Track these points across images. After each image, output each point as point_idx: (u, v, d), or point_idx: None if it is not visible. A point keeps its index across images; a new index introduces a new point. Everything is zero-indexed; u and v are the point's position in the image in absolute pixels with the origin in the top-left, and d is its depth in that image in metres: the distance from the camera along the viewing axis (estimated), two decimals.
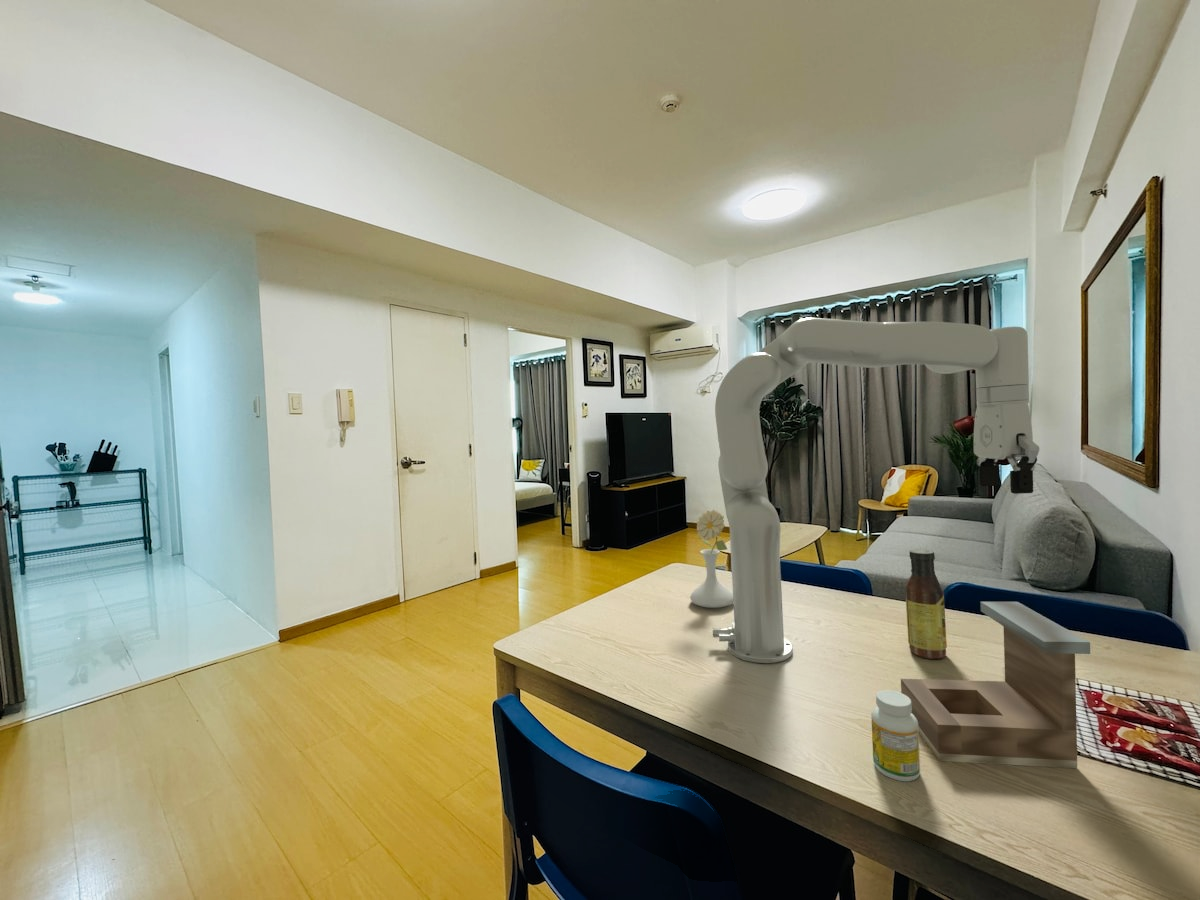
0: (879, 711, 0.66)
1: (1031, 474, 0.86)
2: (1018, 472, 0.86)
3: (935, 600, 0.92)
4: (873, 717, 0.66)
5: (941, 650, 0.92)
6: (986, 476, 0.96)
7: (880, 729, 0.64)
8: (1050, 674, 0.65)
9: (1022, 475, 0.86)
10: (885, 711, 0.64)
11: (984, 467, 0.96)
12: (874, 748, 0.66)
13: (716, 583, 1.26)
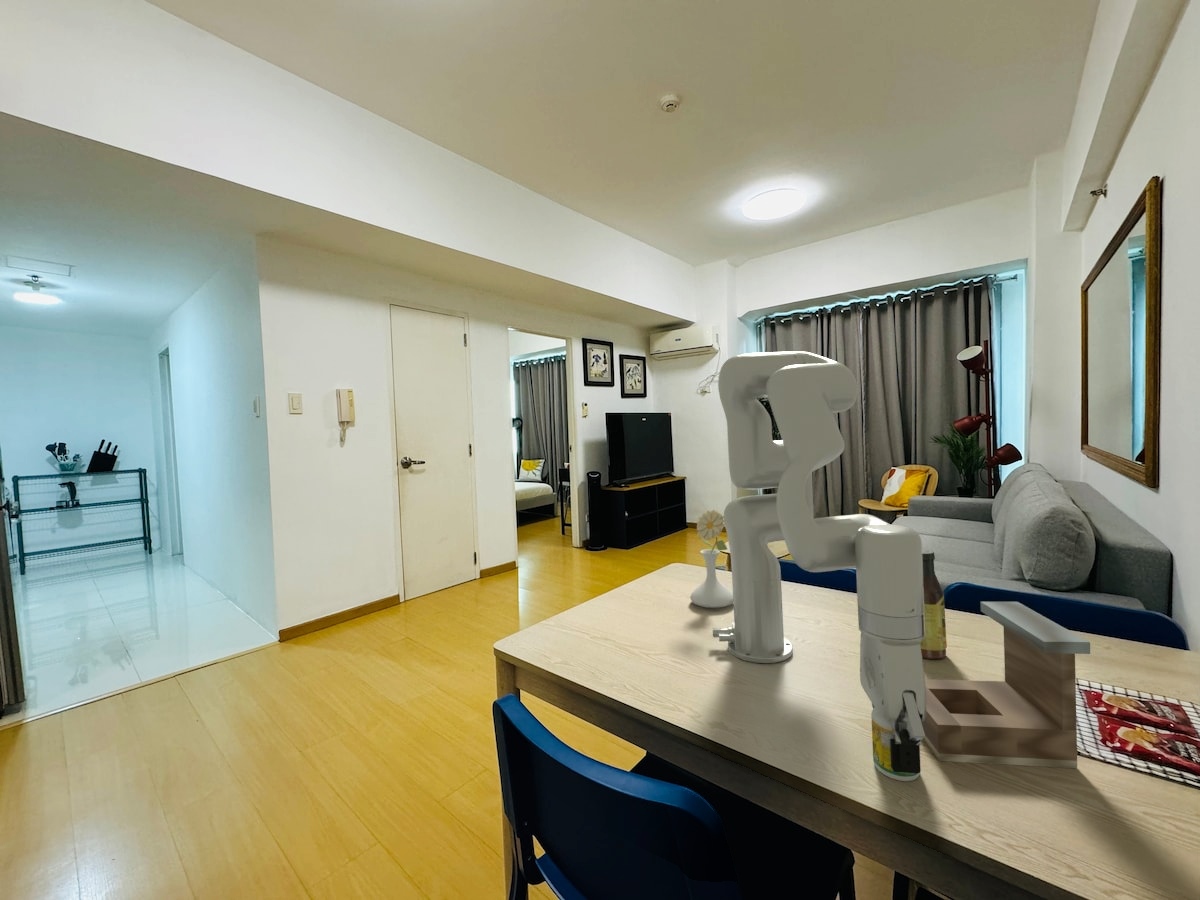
0: None
1: (918, 747, 0.62)
2: (899, 745, 0.62)
3: (935, 600, 0.92)
4: (873, 717, 0.66)
5: (941, 650, 0.92)
6: None
7: (880, 729, 0.64)
8: (1050, 674, 0.65)
9: (904, 751, 0.61)
10: None
11: None
12: (874, 748, 0.66)
13: (716, 583, 1.26)
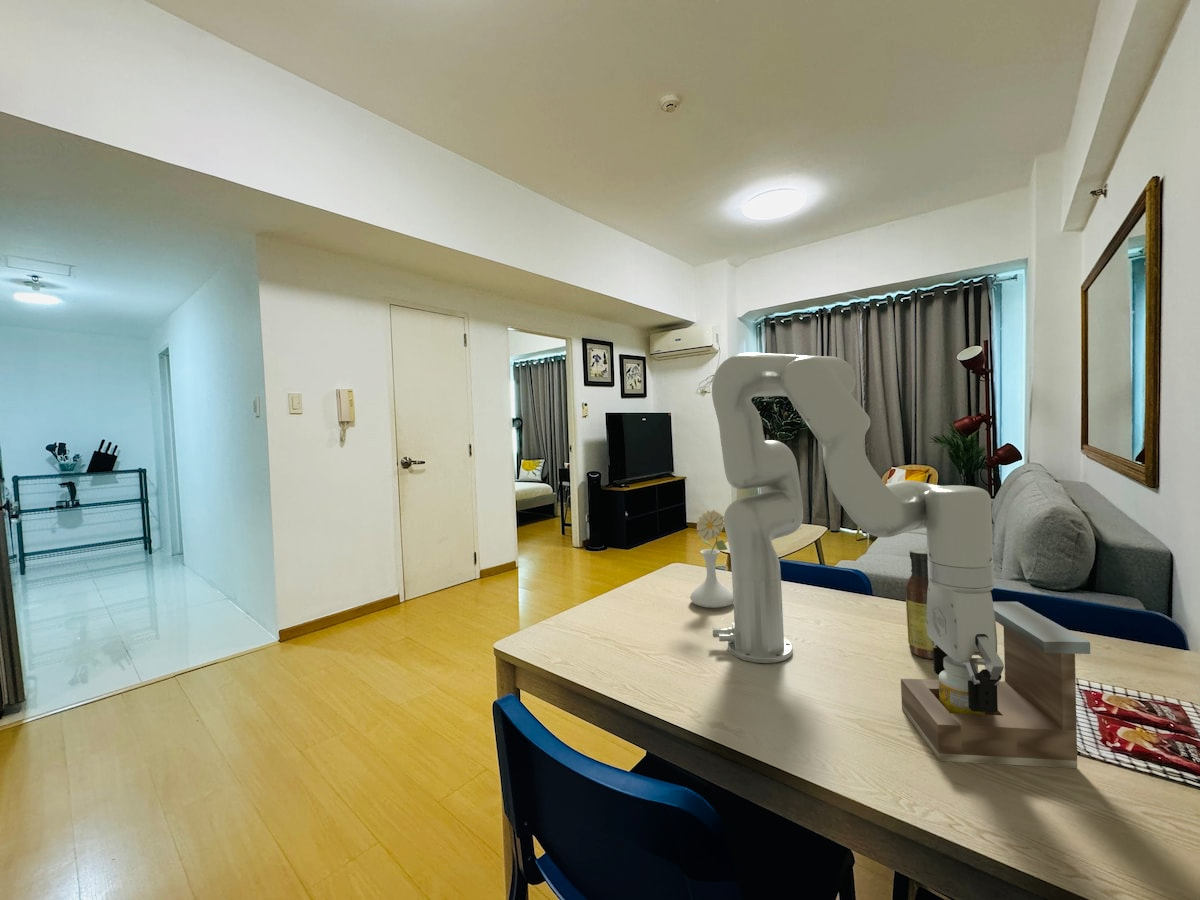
0: (947, 674, 0.72)
1: (995, 688, 0.65)
2: (978, 685, 0.65)
3: None
4: (941, 679, 0.72)
5: None
6: (942, 663, 0.75)
7: (949, 690, 0.70)
8: (1050, 674, 0.65)
9: (983, 690, 0.65)
10: (953, 673, 0.70)
11: (940, 651, 0.75)
12: None
13: (716, 583, 1.26)
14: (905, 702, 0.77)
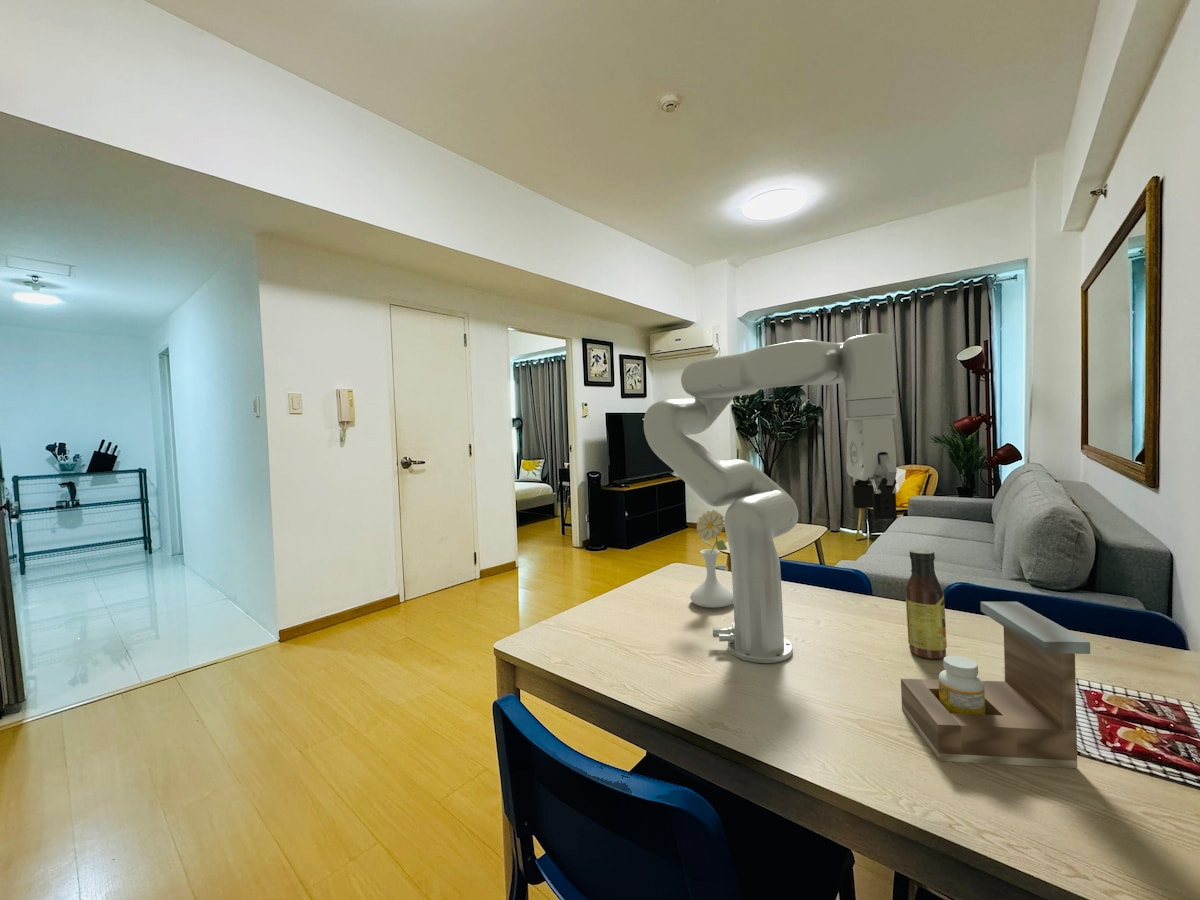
0: (947, 674, 0.72)
1: (894, 497, 0.77)
2: (879, 495, 0.77)
3: (935, 600, 0.92)
4: (941, 679, 0.72)
5: (941, 650, 0.92)
6: (860, 497, 0.87)
7: (949, 690, 0.70)
8: (1050, 674, 0.65)
9: (883, 499, 0.77)
10: (953, 674, 0.70)
11: (858, 487, 0.87)
12: None
13: (716, 583, 1.26)
14: (905, 702, 0.77)
